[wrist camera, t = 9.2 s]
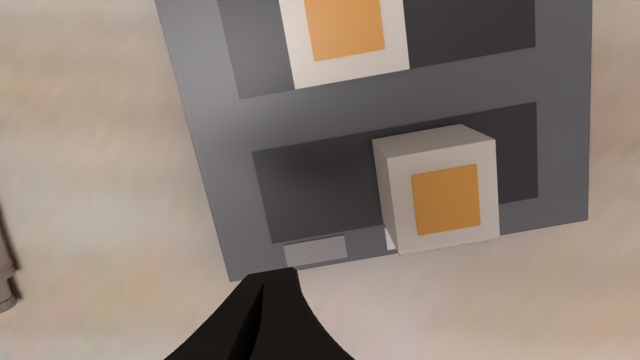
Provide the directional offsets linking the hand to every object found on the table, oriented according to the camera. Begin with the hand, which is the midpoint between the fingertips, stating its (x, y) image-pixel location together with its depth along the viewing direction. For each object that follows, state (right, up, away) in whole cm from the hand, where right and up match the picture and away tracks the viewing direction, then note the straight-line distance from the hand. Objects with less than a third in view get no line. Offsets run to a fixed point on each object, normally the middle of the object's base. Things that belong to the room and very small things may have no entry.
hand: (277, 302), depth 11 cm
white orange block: (+6, +4, +8) cm, 10 cm away
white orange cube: (+2, +10, +6) cm, 11 cm away
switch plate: (+4, +7, +8) cm, 12 cm away
